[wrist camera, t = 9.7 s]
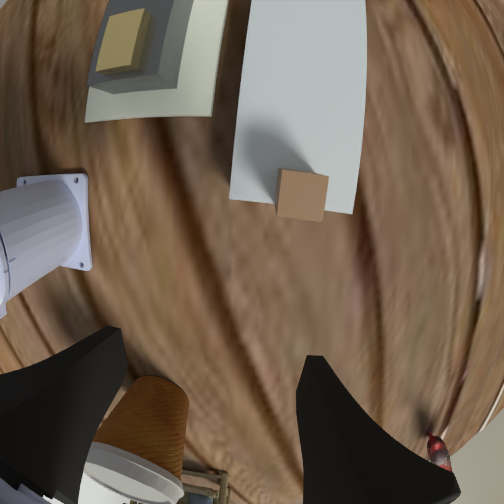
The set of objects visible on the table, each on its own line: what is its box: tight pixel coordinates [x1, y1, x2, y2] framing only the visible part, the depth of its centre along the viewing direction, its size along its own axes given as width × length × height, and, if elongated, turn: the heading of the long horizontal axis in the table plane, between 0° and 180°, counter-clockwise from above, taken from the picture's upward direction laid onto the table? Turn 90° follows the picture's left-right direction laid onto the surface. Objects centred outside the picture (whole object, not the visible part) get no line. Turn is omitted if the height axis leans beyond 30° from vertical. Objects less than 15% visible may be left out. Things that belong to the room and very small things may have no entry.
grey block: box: [87, 0, 194, 94], centre depth 12 cm, size 5×8×4 cm, turn 174°
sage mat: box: [85, 0, 229, 123], centre depth 14 cm, size 10×12×1 cm
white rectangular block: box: [229, 0, 367, 222], centre depth 12 cm, size 7×16×6 cm, turn 174°
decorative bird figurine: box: [427, 429, 452, 472], centre depth 22 cm, size 3×18×10 cm, turn 35°
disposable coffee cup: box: [83, 376, 189, 504], centre depth 19 cm, size 10×10×12 cm
